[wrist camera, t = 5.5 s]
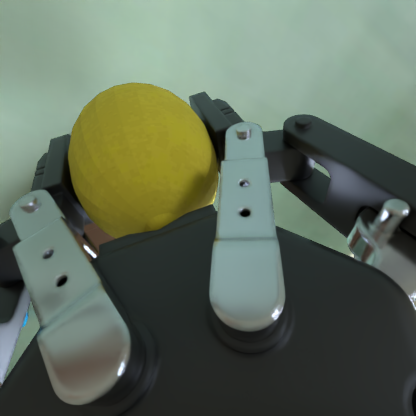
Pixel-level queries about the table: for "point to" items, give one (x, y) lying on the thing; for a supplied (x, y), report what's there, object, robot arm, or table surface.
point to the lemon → (140, 159)
